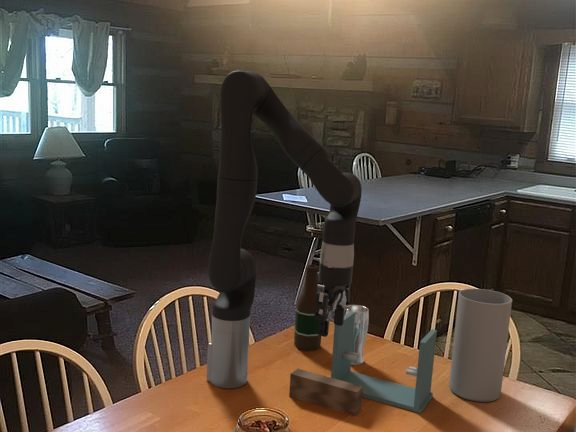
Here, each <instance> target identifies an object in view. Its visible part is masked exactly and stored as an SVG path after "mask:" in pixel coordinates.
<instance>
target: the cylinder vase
mask: <svg viewBox="0 0 576 432" xmlns="http://www.w3.org/2000/svg"><path fill="white" fill-rule="evenodd" d="M457 298H458V299H457V305H456V316H455V324H454V326H455V327H454V334H453V345H452V354H451V363H450V364H451V365H450V372H449V383H448V385H449V389H450V390H451V392H453V394H455V395H456V396H458V397H460V398H462V399H464V400H468V401H472V402H478V403H489V402H494V401H496V400H498V399H499V398H500V397H501V394H502V387H503V385H502V384H503V381H504V380H503V379H504V373H505V372H504V369H505V362H506V355H507V347H508V338H509V337H508V336H509V330H510V322H511V313H512V305H513V298H511V297H510V296H509V295H507V294H505V293H502V292H500V291H495V290H491V289H486V288H483V289H482V288H464V289H461V290H459V291H458V297H457Z"/></svg>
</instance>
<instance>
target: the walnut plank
mask: <svg viewBox="0 0 576 432" xmlns="http://www.w3.org/2000/svg"><path fill="white" fill-rule="evenodd" d="M289 377H290V378H289V379H290V380H289V393H288V396H289V398H293V399H297V400H300V401H303V402H307V403H310V404H313V405H317V406H319V405H320V407H322V408H327V409H329V408H330V410H333V411H335V412H339V411H340V412H341V413H343V412H344V413H343V414H346V413H347V414H346V415H349V414H350V416H353V417H356V416H357V415H358V414H359V413H360V412H361V411H362V406H363V405H362V403H363V397H362V394H363V386H360V385H356V384H352V383H349V382H345V381H341V380H338V379H334V378H331V376H326V375H323V374H319V373H315V372H312V371H309V370H308V371H307V370H305V369H300V368H296V369H294V370H293V371H292V372H291V373H290V376H289ZM360 410H361V411H360Z"/></svg>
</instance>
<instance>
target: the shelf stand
mask: <svg viewBox="0 0 576 432" xmlns="http://www.w3.org/2000/svg"><path fill="white" fill-rule="evenodd" d="M354 318H355V312H349V313H348V314H346V315H345V316H344V322H343V325H342V326H339V325H335V324H334V330H333V341H332V342H333V343H332V357H331V370H330V371H331V373H330V377H331V378H334V379H338V380H341V381H345V382H349V383H352V384H356V385H360V386H363V394H362V398H365V399H368V400H371V401H372V400H373V401H376V402H380V403H383V404H386V405H391V406H393V407H398V408H401V409H404V410H408V411H411V412H415V413H418V414H422V412H423V411H424V409H425V408H426V407H427V405H428V404H429V403H430V401H431V400H432V399H433V397H434V393H433V392H431V391H432V381H433V372H434V363H435V352H436V351H435V350H436V343H437V342H436V341H437V333H438V332H437V329H432V328H431V329H430V331H429V332H428V333H426V334H425V336H424V337H423V338H422V339H421V340H420V342H419V347H418V349H419V350H418V358H417V359H418V360H417V367H415V366H408V368H406V370H405V375H408V376H413V377H416V379H415V387H411V386H407V385H406V384H405V385H403V384H399V383H396V382H393V381H389V380H385V379H381V378H378V377H373V376H370V375H366V374H364V373H363V374H362V373H359V372H355V371H352V370H351V367H352V365H351V360H353V361H356V360H357V358H358V359H359V357H360V354H358V353H354V352H352V344H353V331H354Z"/></svg>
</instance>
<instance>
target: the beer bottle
mask: <svg viewBox="0 0 576 432" xmlns="http://www.w3.org/2000/svg"><path fill="white" fill-rule="evenodd" d="M305 270H306V271H305V279H304V286H303V291H302V293H301V294H300V296H298V299H297V302H296V307H295V323H294V337H293V338H294V340H293V343H294V346H295V347H296V348H297V349H298V350H302V351H306V352H310V350H312V351H317V350H318V349H319V348H320V347H321V345H322V344H321V343H322V336H320V335H318V327H319V319H315V318H314V313H315V304H316V295H317V292H319V289H318V284H319V283H318V281H319V265H316V264H308V265H306V266H305ZM319 311H320V309H319ZM316 349H317V350H316Z"/></svg>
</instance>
